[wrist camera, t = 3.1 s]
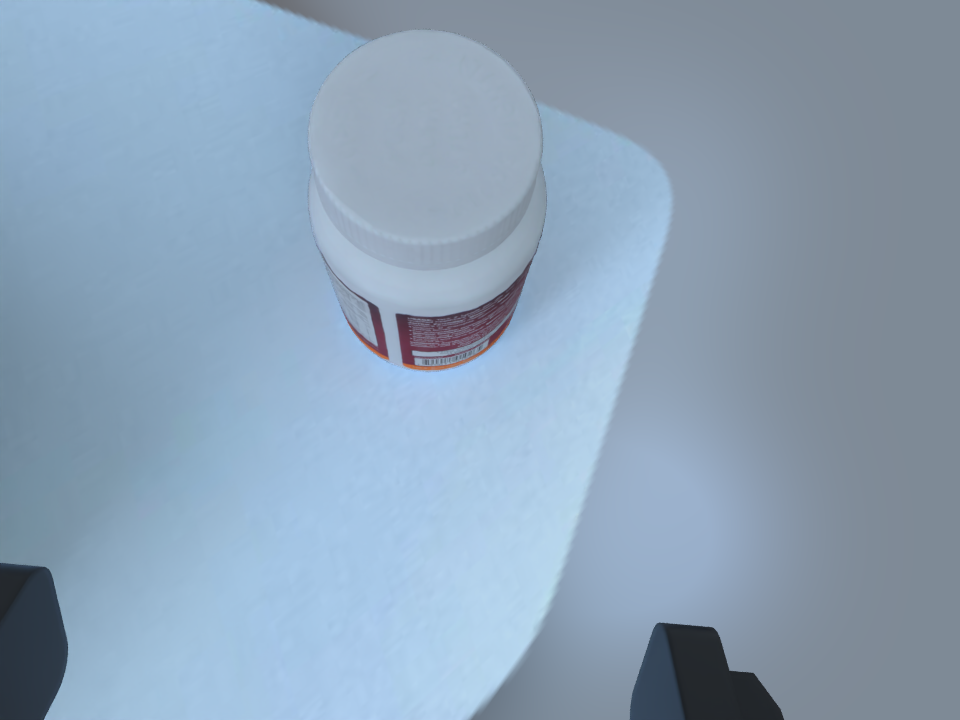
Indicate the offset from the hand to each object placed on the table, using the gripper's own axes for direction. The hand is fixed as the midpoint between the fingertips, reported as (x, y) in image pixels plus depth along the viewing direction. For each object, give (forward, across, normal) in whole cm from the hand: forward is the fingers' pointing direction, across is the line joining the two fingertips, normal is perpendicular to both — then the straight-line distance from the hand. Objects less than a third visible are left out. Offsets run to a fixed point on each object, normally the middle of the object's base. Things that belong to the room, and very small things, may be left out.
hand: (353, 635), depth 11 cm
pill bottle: (+18, 0, +4) cm, 19 cm away
